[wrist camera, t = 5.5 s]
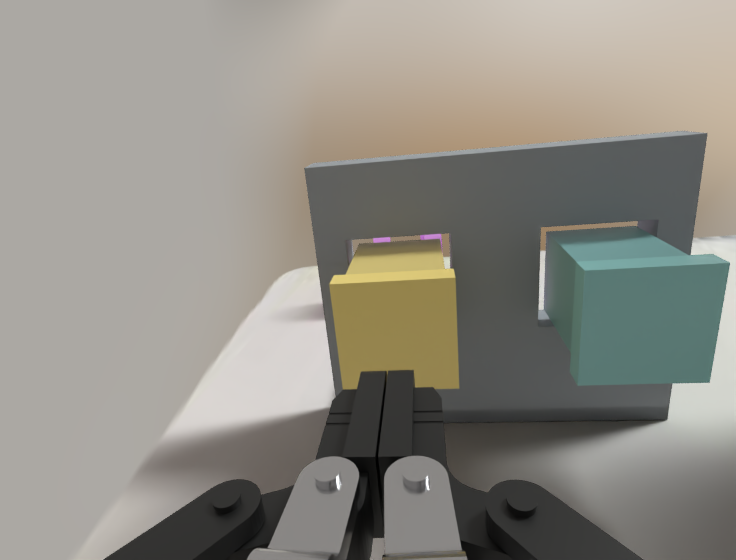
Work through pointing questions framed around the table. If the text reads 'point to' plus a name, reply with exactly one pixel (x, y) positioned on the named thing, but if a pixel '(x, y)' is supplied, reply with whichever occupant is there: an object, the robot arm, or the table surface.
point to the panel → (511, 253)
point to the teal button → (633, 306)
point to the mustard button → (397, 313)
